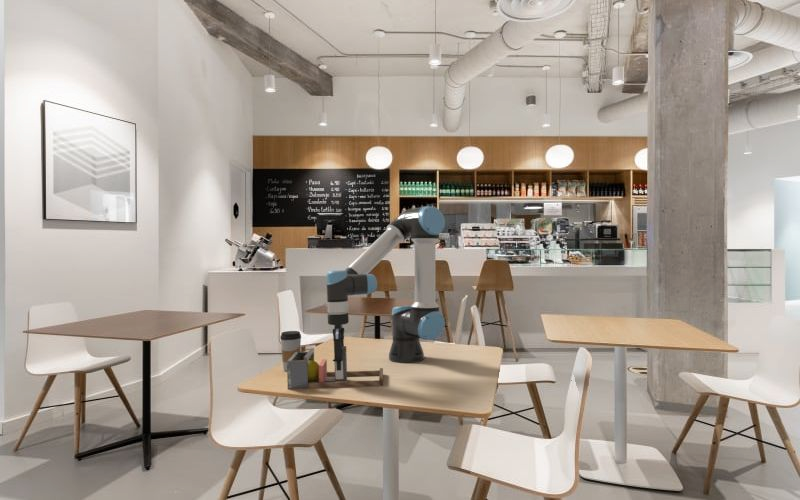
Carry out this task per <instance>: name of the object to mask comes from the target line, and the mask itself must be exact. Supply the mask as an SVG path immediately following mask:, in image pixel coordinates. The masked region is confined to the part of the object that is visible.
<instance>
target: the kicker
mask: <svg viewBox="0 0 800 500" xmlns="http://www.w3.org/2000/svg"><path fill="white" fill-rule="evenodd" d="M342 360H343V379H336V375H335V377H327V372H328V362H327V361H328V359H327V358H326V359H325V358H322V359H321V361H320V362H319V364H318V365H319V378H318V382H344V381H348V376H347V371H348V368H347V367H348V364H347V362H348V361H347V345H344V346H342Z"/></svg>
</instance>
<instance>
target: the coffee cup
mask: <svg viewBox="0 0 800 500" xmlns="http://www.w3.org/2000/svg"><path fill="white" fill-rule="evenodd" d="M279 337H280V339H279V340H280V344H281V345H280V347H281V359H282V368H283V371H284V372H287V361H288V360H289V359H290V358H291V357H292V355H293V354H294V353H295V352H301V341H302V340H301V339H302V334H301V332H300V331H299V330H288V331H283V332H282V331H281V334H280V335H279Z"/></svg>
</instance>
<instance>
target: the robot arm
mask: <svg viewBox="0 0 800 500" xmlns="http://www.w3.org/2000/svg"><path fill="white" fill-rule="evenodd" d="M445 225H446V220H445V217H444V214H443V213H442V212H441V211H440V209H439V208H437V207H435V206H431V205H430V206H427V205H426V206H421V207H420V206H419V207H416V208H415V207H414V208H409V209H406V210H404V211H403V212H401V213H400V214H399V215H398V216H396V217H395V218H394V220H392V221H391V222H390V223H388V225H387V226H386V230H385V231H384V232H383V233H382V234H381V235H380V236H378V238H377V239H376V240H374V242H373V243H371V244H370V246H368V248H366V250H365V249H364V252H362V253H361V254H360V255H359V256H358V257H357V258H356V259H354V261H353V262H352V263H351V264H350V265H348V266H347V268H346V269H344V270H342V269H341V270H339V269H338V270H329V271H327V273H326V276H325V277H326V279H325V282H326V283H325V285H326V301H327V302H326V304H325V307H327V313H328V314H327V324H328V325H330V326H334V328H333V329H332V336H333V340H332V341H333V353H334V355H333V357H334V358H333V359H332V362H334V372H335V375H336V379H343V360H342V346H345V342H344V340H345V328H344V327H343V325H347V324H348V323H350V322H349V321H350V320H349V313H348V312H349V296H358V295H359V296H360V295H369V294H374V293H375V292H376V291H377V288H378V280H377V277H376V276H375V275H374V274H373V273H370V272H371V271H372V270H373V269H374V268H375V267H376V266H377V265H378V264H380V262H382V260H383V259H384V258H385V257H386V256H387V255H388V254H389V253H390V252H391V251H392V250H393V249H395V247H396V246H397V245H398V244H403V243H404V242H405V241H406V240H407V239H409V238H410V240H411V241H412V242H413V244H414V301H413V303H412V304H411V305H400V306H394V307H393V308H392V310H391V323H392V324H391V330H392V342H391V346H390V350H389V354H388V359H389V361H392V362H394V363H395V362H396V363H415V362H419V361H422V360H424V359H425V352H424V349H423V348H422V344H421V341H420V339H421V340H424V341H426V340H428V341H434V340H436V339H438V338H439V337H440V336H441V334H442V333H443V332H444V329H445V327H446V326H445V324H446V321H445V317H444V316H443V314H442V313H440V305H439V304H438V303H437V302H436V244H437V242H438V241H439V240H440V234H441V233H443V231H444V229H445Z"/></svg>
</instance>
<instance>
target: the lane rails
mask: <svg viewBox="0 0 800 500" xmlns="http://www.w3.org/2000/svg"><path fill="white" fill-rule="evenodd" d="M365 376H366V377H368V376H379V377H378V379H379V380H376V379H375V380H352V381H351V380H349V381H348V380H346V381H344V382H335V381H325V382H319V381H318V382H317V381H314V382H312V383H308V388H307V389H315V388H316V389H319V388H323V389H324V388H347V387H348V388H350V387H351V388H352V387H355V388H357V387H381V386H384V368H383V367H380V368H379V369H378V370H351V371H350V370H349V371H348V370H347V377H365ZM327 377H335V371H327Z"/></svg>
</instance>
